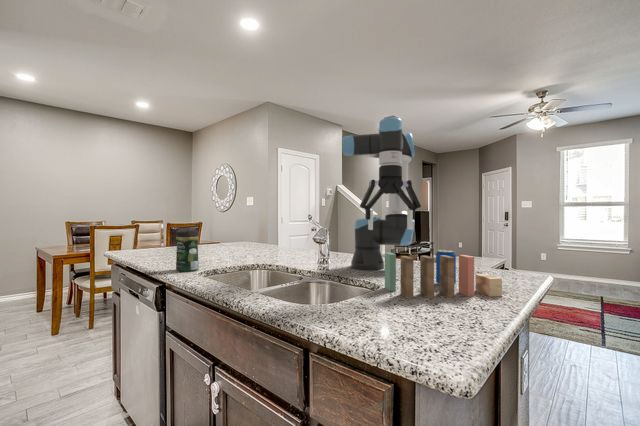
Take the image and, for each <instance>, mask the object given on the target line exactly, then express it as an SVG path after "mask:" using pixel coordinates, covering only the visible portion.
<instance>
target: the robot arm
mask: <svg viewBox="0 0 640 426" xmlns="http://www.w3.org/2000/svg"><path fill="white" fill-rule="evenodd" d="M402 121H403V120H402V119H401V118H399V117H393V116H392V117H391V116H390V117H384V118H382V119H380V121H379V124H378V133H370V134H369V133H368V134H354V135H353V134H350V135H345V136H343V137H342V141H341V149H342V154H343V155H344V156H345V157H347V156H348V157H349V156H350V157H356V156H364V157H367V158H368V157H369V158H375V159H378V165H379V167H378V180H375V179H371V180H369V182H368V183H369V185H368V188H367V190H366V192H365V194H364V196H363V198H362V201H361V202H360V205H359V208H361V209H364V210H365V214H364V215H365V217H364V218H358V219H356V220H355V223H354V252H353V255H352V258H351V263H350V266H351V268H352V267H353V268H352V269H357V270H366V271H372V270H373V271H374V270H382V269H385V260H384V259H383V255H382V252H381V245H382V246H399V247H403V246H410V245H411V244H412V242H413V238H414V229H415V221H416V220H415V219H416V210H417V209H420V208H421V207H422V205H421V204H420V203H421V202H420V201H419V199H418V198H419V197H417V195H416V192H415V190H414V189H413V183H412V181H411V179H409V163H410V162H412V158H413V157H415V156H416V155H415V154H416V153H415V144H414V138H413V133H411V132H409V131H407V132H406V131H405V132H403V122H402ZM377 185H378V187H379V189H378V191H377V192H376V194H375V195H374V196H373V197H372V198H371V195H372V193H373V192H374V189H375V187H377ZM384 194H385V195H388V213H386V214H384V219H381V216H374V210H373V209H372V208H373V207H374V205H375V204H376V203H377V202H378V200H379V199H380V198H381V197H382V196H383V195H384ZM370 198H371V200H370ZM369 200H370V201H369ZM368 201H369V202H368Z"/></svg>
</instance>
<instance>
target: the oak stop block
mask: <svg viewBox="0 0 640 426" xmlns="http://www.w3.org/2000/svg"><path fill="white" fill-rule="evenodd" d="M475 291H476V292H478V293H480V294H482V295H486V296H488V297H503V279H502V277H499V276H495V275H491V274H490V273H489V274H488V273H475Z"/></svg>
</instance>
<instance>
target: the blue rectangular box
mask: <svg viewBox="0 0 640 426" xmlns="http://www.w3.org/2000/svg"><path fill="white" fill-rule="evenodd" d="M440 255H447V256H450V257H454V285H456V282H457V281H456V280H457V276H456V275H457V273H456V271H457V268H456V267H457V258H456V257H457V256H456V253H455V250H453V249H452V250H451V249H438V250H437V252H436V253H435V282H436V284H437V285H439V286H440Z"/></svg>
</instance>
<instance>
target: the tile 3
mask: <svg viewBox="0 0 640 426" xmlns="http://www.w3.org/2000/svg"><path fill="white" fill-rule="evenodd" d="M419 258H420V259H419V261H420V262H419V264H420V266H419V267H420V269H419V270H420V272H419V273H420V277H419V280H420V281H419V283H420V284H419V286H420V287H419V288H420V291H419V292H420V293H419V294H420V295H422V296H423V297H426V298H427V299H434V298H435V257H433V256H430V255H420V257H419Z"/></svg>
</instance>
